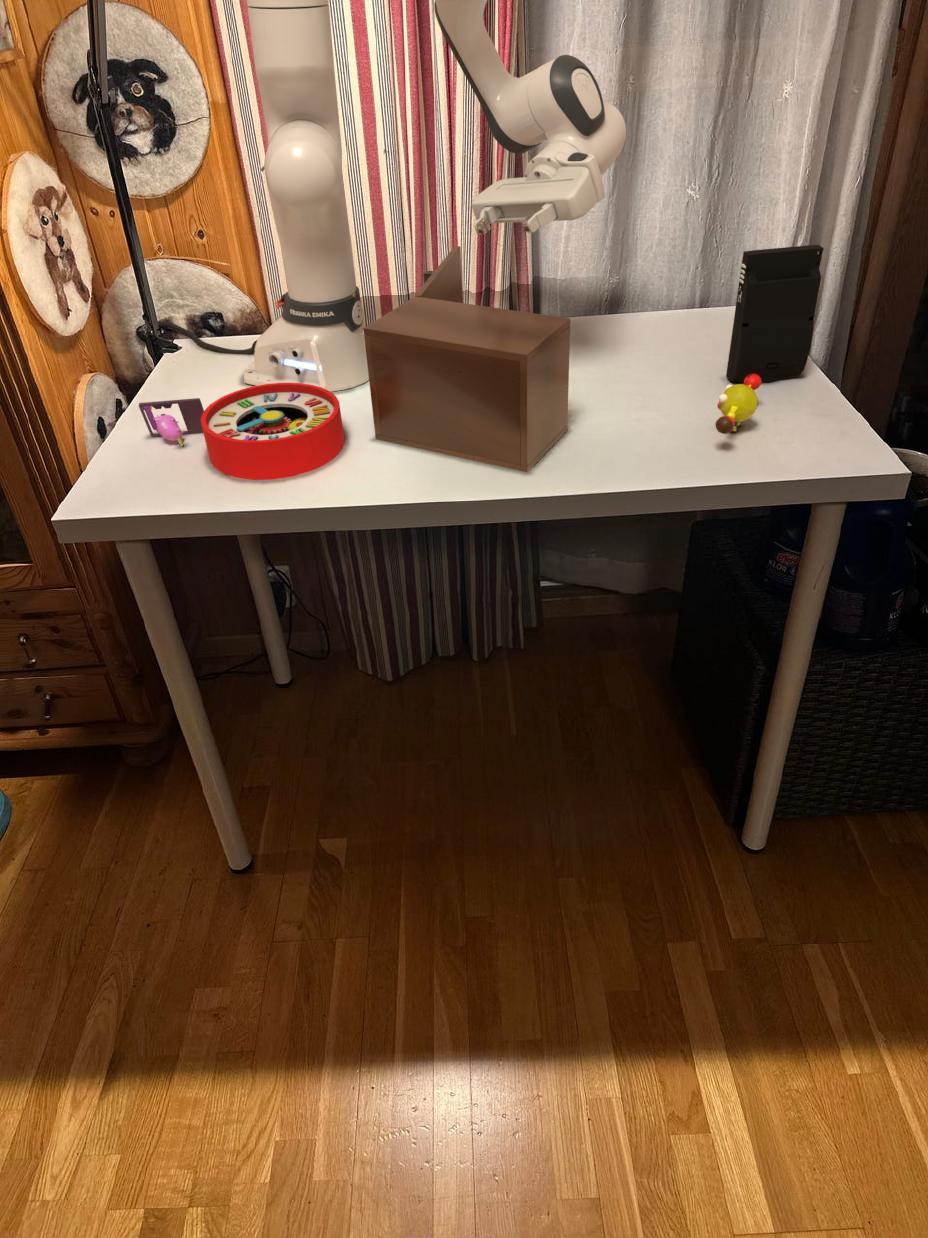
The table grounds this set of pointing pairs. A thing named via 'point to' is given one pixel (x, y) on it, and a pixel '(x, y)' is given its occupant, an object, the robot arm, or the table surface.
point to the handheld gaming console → (774, 313)
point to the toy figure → (737, 403)
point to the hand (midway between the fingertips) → (502, 228)
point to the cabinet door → (444, 279)
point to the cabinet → (469, 380)
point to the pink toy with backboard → (168, 424)
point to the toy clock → (273, 431)
